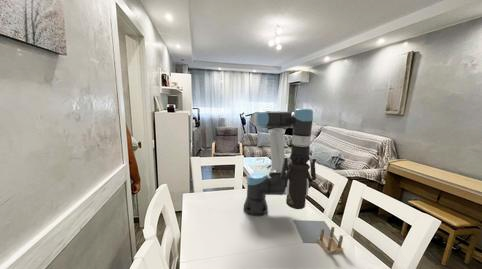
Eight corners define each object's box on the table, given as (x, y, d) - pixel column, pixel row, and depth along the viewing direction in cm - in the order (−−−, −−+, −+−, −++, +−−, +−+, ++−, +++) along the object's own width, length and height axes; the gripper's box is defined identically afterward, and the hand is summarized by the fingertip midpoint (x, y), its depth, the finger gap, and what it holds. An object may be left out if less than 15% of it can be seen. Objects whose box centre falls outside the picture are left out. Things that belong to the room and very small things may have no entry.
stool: (327, 254, 88) (330, 240, 86) (317, 241, 95) (319, 228, 93) (342, 251, 90) (345, 237, 88) (331, 238, 97) (333, 225, 95)
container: (290, 197, 95) (293, 158, 91) (308, 204, 89) (312, 162, 86) (282, 204, 88) (285, 162, 85) (301, 212, 83) (305, 167, 79)
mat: (303, 243, 94) (303, 242, 94) (293, 221, 112) (293, 220, 112) (340, 244, 94) (340, 243, 94) (324, 221, 112) (324, 221, 112)
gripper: (278, 146, 80) (274, 197, 84) (328, 147, 80) (322, 198, 84) (275, 142, 88) (272, 189, 91) (321, 143, 88) (316, 190, 92)
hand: (296, 193), depth 88 cm, fingers closed on container, 8 cm apart
